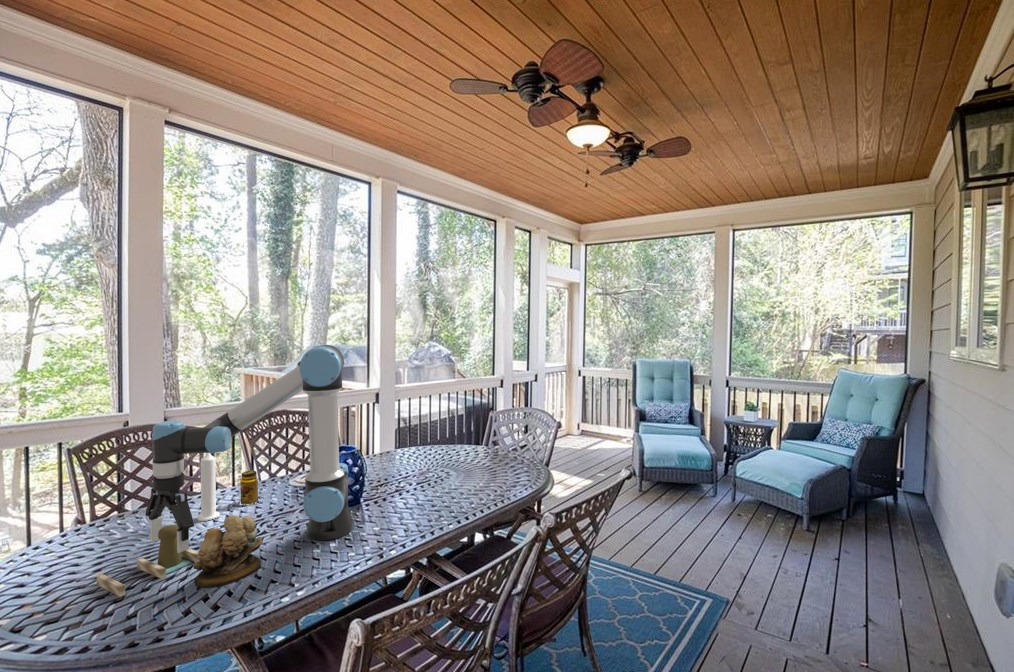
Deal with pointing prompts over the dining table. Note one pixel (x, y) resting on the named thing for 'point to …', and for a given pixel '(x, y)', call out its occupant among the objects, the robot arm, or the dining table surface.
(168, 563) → the olive pawn
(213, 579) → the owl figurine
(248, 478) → the condiment
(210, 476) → the candle
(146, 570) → the notched rack
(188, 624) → the dining table surface
